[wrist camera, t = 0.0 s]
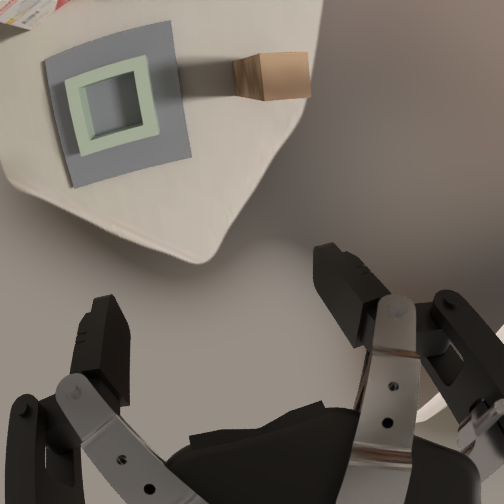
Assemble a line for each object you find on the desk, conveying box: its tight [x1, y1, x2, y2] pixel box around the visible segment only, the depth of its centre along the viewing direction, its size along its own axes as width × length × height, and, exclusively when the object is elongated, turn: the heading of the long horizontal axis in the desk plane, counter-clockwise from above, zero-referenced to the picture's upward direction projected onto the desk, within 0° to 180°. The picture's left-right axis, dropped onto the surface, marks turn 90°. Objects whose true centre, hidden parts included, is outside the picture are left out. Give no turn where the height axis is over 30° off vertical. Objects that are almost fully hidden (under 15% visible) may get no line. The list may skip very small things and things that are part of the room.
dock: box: [45, 20, 192, 189], centre depth 29 cm, size 18×16×4 cm
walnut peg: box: [232, 52, 311, 101], centre depth 28 cm, size 4×4×12 cm
